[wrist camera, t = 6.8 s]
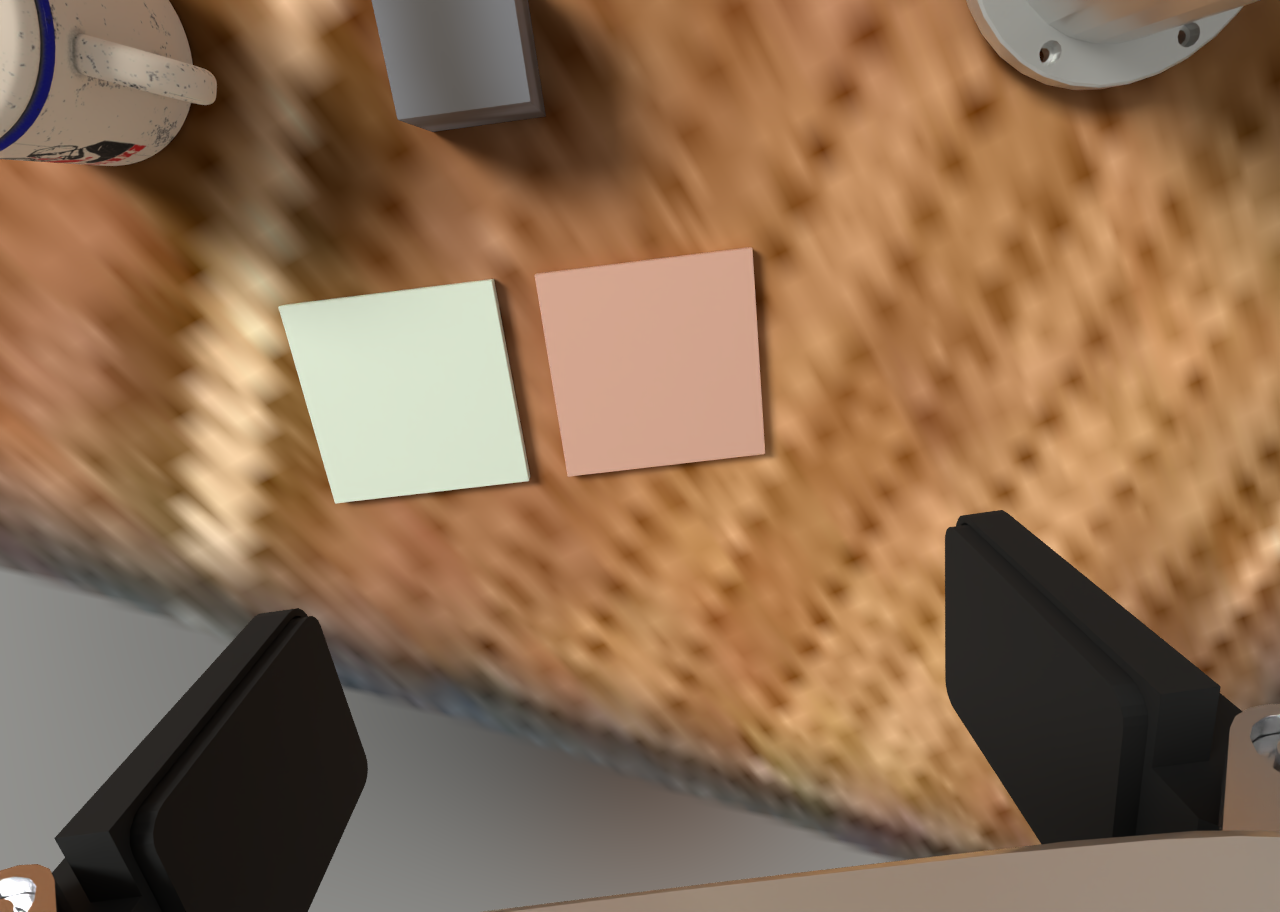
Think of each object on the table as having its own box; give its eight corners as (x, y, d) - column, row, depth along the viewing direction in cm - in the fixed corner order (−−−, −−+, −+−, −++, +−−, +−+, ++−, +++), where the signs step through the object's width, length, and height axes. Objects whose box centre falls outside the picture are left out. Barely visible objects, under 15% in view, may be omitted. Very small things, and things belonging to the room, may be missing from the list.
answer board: (750, 247, 33) (752, 248, 32) (763, 449, 36) (764, 453, 36) (284, 304, 33) (278, 306, 33) (339, 498, 37) (335, 503, 36)
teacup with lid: (-16, 140, 31) (-371, 107, 20) (-28, -104, 28) (-451, -300, 17) (265, 213, 32) (75, 220, 21) (282, -14, 29) (72, -143, 18)
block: (525, -16, 29) (505, -58, 25) (545, 116, 31) (530, 101, 26) (406, 0, 29) (363, -38, 25) (433, 132, 31) (397, 119, 26)
